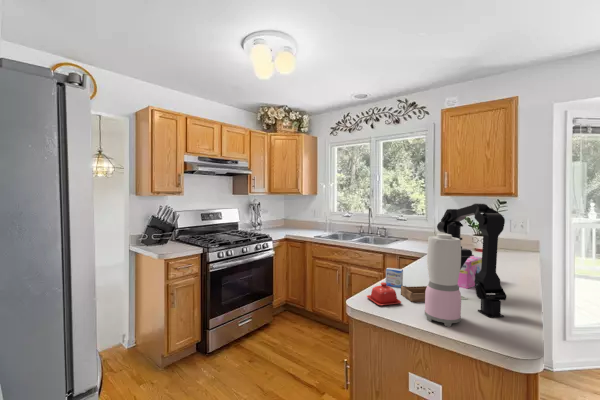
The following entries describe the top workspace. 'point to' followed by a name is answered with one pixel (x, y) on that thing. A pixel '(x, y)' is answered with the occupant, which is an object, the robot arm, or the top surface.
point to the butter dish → (383, 295)
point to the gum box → (469, 272)
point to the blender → (443, 279)
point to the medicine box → (394, 277)
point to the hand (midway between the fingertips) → (452, 267)
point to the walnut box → (414, 293)
